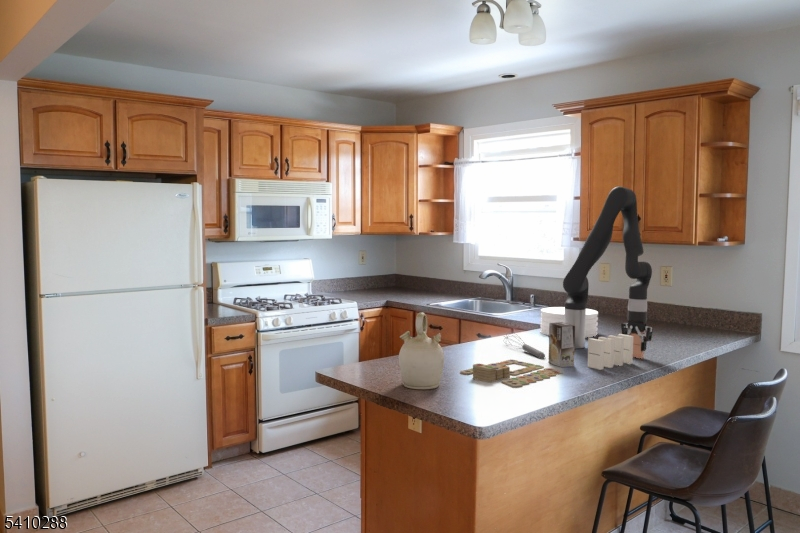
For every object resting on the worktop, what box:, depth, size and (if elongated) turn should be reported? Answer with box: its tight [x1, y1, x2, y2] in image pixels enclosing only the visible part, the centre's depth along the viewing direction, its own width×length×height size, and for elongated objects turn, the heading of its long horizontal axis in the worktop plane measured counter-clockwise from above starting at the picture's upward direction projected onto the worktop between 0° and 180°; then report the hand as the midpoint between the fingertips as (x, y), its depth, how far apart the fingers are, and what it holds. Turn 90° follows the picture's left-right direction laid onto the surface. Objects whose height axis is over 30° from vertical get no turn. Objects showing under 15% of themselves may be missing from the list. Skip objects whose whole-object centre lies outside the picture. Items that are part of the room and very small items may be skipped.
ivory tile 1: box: [617, 333, 634, 365], centre depth 255 cm, size 2×6×11 cm, turn 35°
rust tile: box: [630, 332, 645, 359], centre depth 266 cm, size 2×6×11 cm, turn 35°
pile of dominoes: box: [459, 358, 563, 389], centre depth 235 cm, size 35×27×6 cm
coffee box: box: [548, 322, 576, 368], centre depth 250 cm, size 9×6×16 cm
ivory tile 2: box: [607, 334, 624, 367], centre depth 252 cm, size 2×6×11 cm, turn 35°
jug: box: [398, 311, 445, 391], centre depth 216 cm, size 15×16×25 cm
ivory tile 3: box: [598, 336, 614, 369], centre depth 248 cm, size 2×6×11 cm, turn 34°
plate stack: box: [539, 306, 599, 339], centre depth 322 cm, size 28×28×12 cm
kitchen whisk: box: [503, 332, 546, 360], centre depth 275 cm, size 6×34×6 cm, turn 18°
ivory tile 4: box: [587, 337, 604, 371], centre depth 245 cm, size 2×6×11 cm, turn 34°
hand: (636, 349), depth 266 cm, fingers closed on rust tile, 6 cm apart
